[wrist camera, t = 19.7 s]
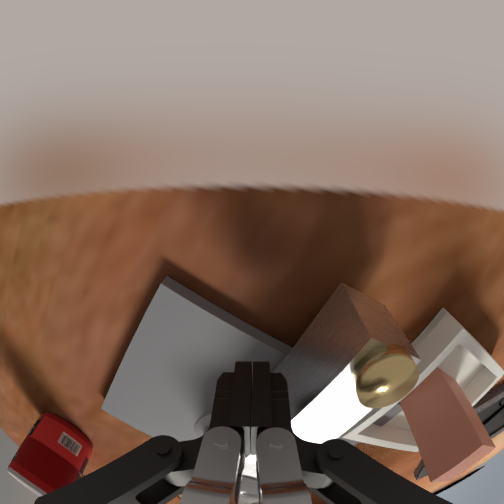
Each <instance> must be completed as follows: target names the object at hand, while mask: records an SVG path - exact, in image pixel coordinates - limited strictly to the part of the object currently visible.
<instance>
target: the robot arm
mask: <svg viewBox="0 0 504 504" xmlns="http://www.w3.org/2000/svg"><path fill="white" fill-rule="evenodd" d="M251 413H252V417H251ZM250 446H251V451H252V455H256V476H257V488H258V500H259V504H312V501H311V496H310V492H309V490H311V491H312V492H313V493H314V494H316V495H317V496H318V497H319V498H321V499H322V500H323V501H325V502H326V503H327V504H453V503H450V502H448V501H446V500H444V499H442V498H440V497H438V496H436V495H434V494H432V493H431V492H429V491H427V490H425V489H423V488H421V487H419V486H418V485H416V484H414V483H412V482H410V481H409V480H407V479H405V478H403V477H402V476H400V475H398V474H397V473H395V472H393V471H392V470H390V469H388V468H387V467H385V466H384V465H382V464H380V463H379V462H377V461H376V460H374V459H373V458H371V457H369V456H368V455H366V454H365V453H363V452H362V451H360V450H359V449H357V448H356V447H354V446H353V445H352V444H350V443H349V442H347V441H345V440H342V439H330V440H327V441H325V442H323V443H322V444H319V443H314V442H309V441H305V440H303V439H301V438H299V437H298V436H297V435H296V434H295V433H294V431H293V429H292V424H291V413H290V404H289V394H288V385H287V380H286V379H285V377H284V376H283V374H282V373H270V363H269V361H253V380H252V361H236V362H235V370H234V372H223V373H222V374H221V376H220V377H219V378H218V380H217V384H216V391H215V396H214V403H213V409H212V415H211V421H210V426H209V429H208V431H207V432H206V433H205V434H204V435H203V436H201V437H199V438H197V439H193V440H187V441H180V442H179V441H178V440H176V439H175V438H173V437H171V436H167V435H159V436H155V437H153V438H151V439H150V440H148V441H146V442H145V443H143V444H142V445H140V446H138V447H137V448H135V449H133V450H132V451H130V452H128V453H126V454H125V455H123V456H121V457H120V458H118V459H116V460H114V461H113V462H111V463H109V464H107V465H105V466H103V467H102V468H100V469H98V470H96V471H94V472H92V473H90V474H88V475H86V476H84V477H82V478H80V479H78V480H76V481H74V482H72V483H70V484H68V485H66V486H63V487H61V488H59V489H57V490H55V491H52V492H50V493H48V494H45V495H43V496H40V497H39V498H37V499H36V501H35V503H34V504H166V503H167V502H169V501H170V500H172V499H173V498H175V497H176V496H177V495H179V494H180V493H182V492H183V494H182V498H181V501H180V504H238V502H239V496H240V489H241V483H242V476H243V470H244V466H245V455H250Z"/></svg>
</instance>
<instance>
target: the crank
mask: <svg viewBox="0 0 504 504" xmlns="http://www.w3.org/2000/svg"><path fill="white" fill-rule="evenodd" d="M420 361H421V359H420V357H419V355H418V354H417V352H416V351H415V349H414V348H413V346H412V345H411V343H410V342H409V340H408V339H407V337H406V336H405V334H404V333H403V331H402V330H401V328H400V327H399V325H398V324H397V322H396V321H395V319H394V318H393V316H392V315H391V314H390V312H389V311H388V309H387V308H386V306H385V305H383V304H381V303H380V302H378V301H376V300H374V299H372V298H370V297H369V296H367V295H365V294H363V293H361V292H359V291H357V290H356V289H354V288H352V287H350V286H348V285H346V284H345V283H343V282H340V284H339V285H338V287H337V288H336V289H335V291H334V292H333V294H332V295H331V297H330V298H329V299H328V301H327V302H326V304H325V305H324V306H323V308H322V309H321V311H320V312H319V313H318V315H317V316H316V317H315V319H314V320H313V321H312V323H311V324H310V325H309V327H308V328H307V329H306V331H305V332H304V333H303V335H302V336H301V337H300V339H299V340H298V341H297V342H296V344H295V345H294V346H293V348H292V349H291V350H290V351H289V353H288V354H287V355H286V356H285V358H284V359H283V360H282V361H281V363H280V364H279V365H278V366H277V367H276V369H275V370H274V371H273V372H272V373H282V374H283V376H284V377H285V379H286V380H287V385H288V394H289V404H290V413H291V424H292V429H293V431H294V433H295V434H296V435H297V436H298V437H299V438H301V439H303V440H305V441H309V442H314V443H319V444H322V443H323V442H325V441H327V440H330V439H337V438H338V437H340V436H341V435H342V434H343V433H345V432H346V431H347V430H348V429H350V428H351V427H352V426H353V425H355V424H356V423H357V422H358V421H359V420H361V419H362V418H363V417H364V416H365V415H366V414H368V413H369V412H370V411H371V410H372V409H373V408H382V407H386V406H389V405H391V404H394V403H396V402H398V401H399V400H401V399H402V398H404V397H405V396H406V395H407V394H408V393H410V391H411V390H412V389H413V388H414V387H415V385H416V383H417V381H418V379H419V369H418V367H417V364H418V363H419V362H420ZM251 417H252V413H251ZM209 426H210V425H208V426H207V427H206V428H205V429H204V431H203V435H204V434H205V433H206V432H207V431H208V429H209ZM203 435H202V436H203ZM255 502H259V500H258V488H257V476H256V455H252V451H251V446H250V455H245V466H244V470H243V476H242V483H241V489H240V496H239V502H238V504H248V503H255Z"/></svg>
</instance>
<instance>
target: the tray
mask: <svg viewBox="0 0 504 504" xmlns="http://www.w3.org/2000/svg"><path fill="white" fill-rule="evenodd" d="M411 345H412V346H413V348H414V349H415V351H416V352H417V354H418V355H419V357H420V359H421V361H420V362H419V363H418V364H417V367H418V369H419V379H418V381H417V383H416V385H415V387H414V388H416V387H417V386H418V385H419V384H420V383H421V382H422V381H423V380H424V379H425V378H426V377H427V376H428V375H429V374H430V373H431V372H432V371H433V370H434V369H435V368H436V367H438V368H440V369H441V370H442V371H444V372H445V373H447V374H448V375H449V376H451V377H452V378H453V379H455V380H456V381H457V383H458V384H459V386H460V388H461V389H462V391H463V392H464V394H465V395H466V397H467V399H468V400H469V402H470V403H471V405H472V407H473V406H474V405H475V404H476V403H477V402H478V401H479V400H480V399H481V398H482V397H483V396H484V395H485V394H486V393H487V392H488V391H489V390H490V389H491V388H492V387H493V386H494V385H495V383H496V382H497V381H498V380H499V379H500V378H501V377H502V376H503V374H504V371H503V369H502V368H501V367H500V366H499V364H498V363H497V362H496V361H495V360H494V358H493V357H492V356H491V355H490V354H489V353H488V352H487V351H486V350H485V348H484V347H483V346H482V345H481V344H480V343H479V342H478V341H477V340H476V339H475V338H474V337H473V336H472V335H471V334H470V333H469V332H468V331H467V330H466V329H465V328H464V327H463V326H462V325H461V324H460V323H459V322H458V321H457V320H456V319H455V318H454V317H453V316H452V315H451V314H450V313H449V312H448V311H447V310H446V309H445V308H444V307H443V308H442V309H441V310H440V311H439V313H438V314H437V315H436V316H435V318H434V319H433V320H432V321H431V322H430V323H429V325H428V326H427V327H426V328H425V329H424V330H423V331H422V333H421V334H420V335H419V336H418V337H417V338H416V339H415V340H414V341H413V342H412V343H411ZM414 388H413V389H414ZM413 389H412V390H413ZM412 390H411V391H412ZM411 391H410V392H411ZM408 394H409V393H408ZM408 394H407V395H408ZM407 395H406V396H407ZM406 396H405V397H406ZM402 399H403V398H402ZM402 399H401V400H402ZM401 400H399V401H398V402H400V401H401ZM398 402H396V403H394V404H391V405H389V406H386V407H382V408H373V409H372V410H371V411H370V412H369V413H368V414H366V415H365V416H364V417H363V418H362V419H361V420H359V421H358V422H357V423H356V424H355V425H353V426H352V427H351V428H350V429H348V430H347V431H346V432H345V433H343V434H342V438H346V439H350V440H354V441H358V442H362V443H367V444H372V445H377V446H382V447H387V448H393V449H399V450H405V451H412V452H418V451H419V449H418V446H417V444H416V441H415V439H414V436H413V434H412V431H411V429H410V426H409V424H408V421H407V419H406V417H405V414H404V412H403V410H402V411H401V412H400V413H399V414H397V415H396V416H395V417H393V418H392V419H391V420H390V421H388V422H387V423H386V424H384V425H383V426H382V427H381V426H378V425H374V424H372V423H373V422H375V421H376V420H377V419H379V418H380V417H381V416H382V415H384V414H385V413H386V412H388V411H389V410H390V409H391V408H392V407H394V406H395V405H396V404H397V403H398Z"/></svg>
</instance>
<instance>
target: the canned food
mask: <svg viewBox="0 0 504 504" xmlns="http://www.w3.org/2000/svg"><path fill="white" fill-rule="evenodd" d="M92 448H93V447H92V444H91V442H90V440H89V439H88V438H87V437H86V436H85V435H84V434H83V433H82V432H81V431H80V430H78V429H77V428H76V427H74V426H73V425H72V424H70V423H69V422H67V421H66V420H64V419H63V418H61V417H59V416H57V415H55V414H52V413H47V412H46V413H44V414H42V415H41V416H40V417H39V418H38V420H37V421H36V423H35V424H34V426H33V427H32V429H31V430H30V432H29V433H28V435H27V437H26V438H25V440H24V441H23V443H22V444H21V446H20V448H19V449H18V451H17V453H16V454H15V456H14V458H13V459H12V461H11V463H10V465H9V467H8V469H7V471H8V473H9V474H10V475H11V476H13V477H14V478H15V479H16V480H17V481H19V482H20V483H21V484H22V485H24V486H25V487H26V488H28V489H29V490H30V491H32V492H33V493H35V494H36V495H38V496H39V497H40V496H43V495H45V494H48V493H50V492H52V491H55V490H57V489H59V488H61V487H63V486H66V485H68V484H70V483H72V482H74V481H76V480H78V479H80V478H81V476H82V474H83V471H84V469H85V467H86V465H87V462H88V460H89V458H90V456H91V454H92Z"/></svg>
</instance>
